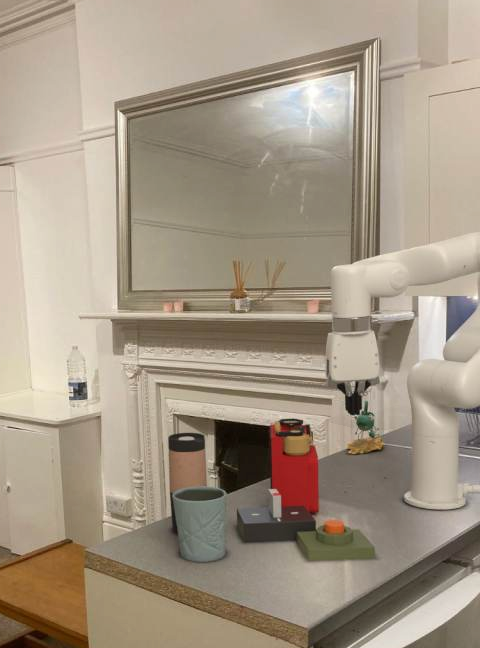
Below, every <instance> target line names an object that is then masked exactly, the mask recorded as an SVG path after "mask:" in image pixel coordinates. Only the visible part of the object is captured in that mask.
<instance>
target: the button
mask: <svg viewBox="0 0 480 648" xmlns="http://www.w3.org/2000/svg"><path fill="white" fill-rule="evenodd" d="M323 525H324V532H327V533H331V534H341V533H344V526H345V522H344V521H342V520H336V519H331V520H330V519H329V520H326V521H324V523H323Z"/></svg>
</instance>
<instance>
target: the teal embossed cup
mask: <svg viewBox="0 0 480 648" xmlns="http://www.w3.org/2000/svg"><path fill="white" fill-rule="evenodd" d="M227 496H228V493H227V492H226V490H224V489H223V488H219V487H217V486H216V487H215V486H207V487H206V486H197V487H189V488H183V489H180V490H177V491H175V492H174V493H173V495H172V497H173V503H174V510H175V516H176V523H177V524H176V525H177V528H178V529H177V531H178V534H177V536H178V544H179V553H180V556H181V557H182V558H183V559H185V560H187V561H190V562H197V563H199V562H200V563H204V562H206V563H208V562H214V561H217V560H221V559H222V558H223V557H225V555H226V527H227V526H226V522H227V520H226V518H227V508H226V507H227Z"/></svg>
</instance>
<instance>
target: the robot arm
mask: <svg viewBox="0 0 480 648" xmlns="http://www.w3.org/2000/svg"><path fill="white" fill-rule="evenodd" d="M476 273H478V276H477V281H476V283H477V284H476V285H477V305H476V309H475V310H474V311H473V313H472V314H471V315H470V316H469V317H468V318H467V320H465V321H464V323H462V325H461V326H459V328H457V330H456V331H454V332H453V334H451V336H450V337H449V338H448V339H447V340H446V342H445V344H444V345H443V349H442V357H443V359H436V358H428V359H422V360H420V361H418V362H416V363H414V364H413V365H412V367H411V368H410V369H409V371H408V373H407V377H406V388H407V393H408V394H407V395H408V398H409V402H410V403H409V404H410V411H411V490H409V491H407V492H405V493H404V495H403V500H404V502H405V503H407V504H408V505H409V506H413V507H416V508H421V509H426V510H435V511H436V510H440V511H441V510H443V511H445V510H447V511H448V510H455V509H460V508H462V507H464V506H466V504H467V497H466V496H467V494H472V495H474V494H480V484H471V483H470V482H461V481H459V464H460V463H459V459H460V456H459V455H460V423H459V422H460V421H459V417H458V414H457V411H456V409H462V410H473V409H477V408H478V407H480V231H475V232H470V233H465V234H462V235H458V236H454V237H451V238H447V239H444V240H439V241H436V242H432V243H428V244H423V245H418V246H415V247H411V248H407V249H402V250H398V251H393V252H392V251H391V252H388V253H384V254H383V253H382V254H379V255H376V256H371V257H368V258H363V259H360V260H357V261H354V262H353V263H350V264H349V263H348V264H338V265H335V266H334V267H332V269H331V270H330V295H331V296H330V298H331V300H330V301H331V324H332V325H331V330H332V331H331V332H328V333H327V338H326V344H325V345H326V347H325V360H324V373H325V377H326V382H325V385H326V387H328V388H332V389H337V390H339V391H340V392H341V393H342V394H343V395H344V408H345V411H346V412H347V414H349V415H350V416H354V415H358V416H359V415H361V411H363V399H362V398H363V396H364V394H365V392H366V391H367V390H368V389H369V388H370V387H373V386H376V385H379V384H380V383H381V379H380V373H381V372H380V371H381V370H380V369H381V366H380V356H379V347H378V343H377V338H376V334H375V331H374V330H372V329H373V326H376V325H378V324H379V319H378V317H373V316H372V315H371V312H372V311H371V310H372V309H371V299H372V298H381V299H382V298H383V299H384V298H385V299H386V298H387V299H388V298H395V297H398V296H400V295H402V294H403V293H405V292H406V290H407V289H408V287H411V286H416V287H417V286H429V285H437V284H441V283H444V282H448V281H451V280H454V279H457V278H461V277H464V276H468V275H472V274H476ZM351 382H354V386H353V387H354V388H353V389H352V384H351ZM455 408H456V409H455Z"/></svg>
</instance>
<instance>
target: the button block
mask: <svg viewBox="0 0 480 648" xmlns="http://www.w3.org/2000/svg"><path fill="white" fill-rule="evenodd" d="M296 544H297V545H298V547H299V548H300V550H301V551H302V554H304V556H305V558H306V559H307V561H308V562H317V561H319V562H320V561H343V560H345V561H346V560H365V559H368V560H369V559H370V560H371V559H376V548H375V546H374V544H373V543H372V542H371V541H370V539H368V538H367V537H366V536H365V535H364V533H362V531H361V530H360V528H359V529H358V528H356V529H355V528H354V529H352V528H351V527H349V526H346V525H344V533H341V534H331V533H327V532H324V524H323V525H319V526H318V527H316V531H307V532H297V541H296Z"/></svg>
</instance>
